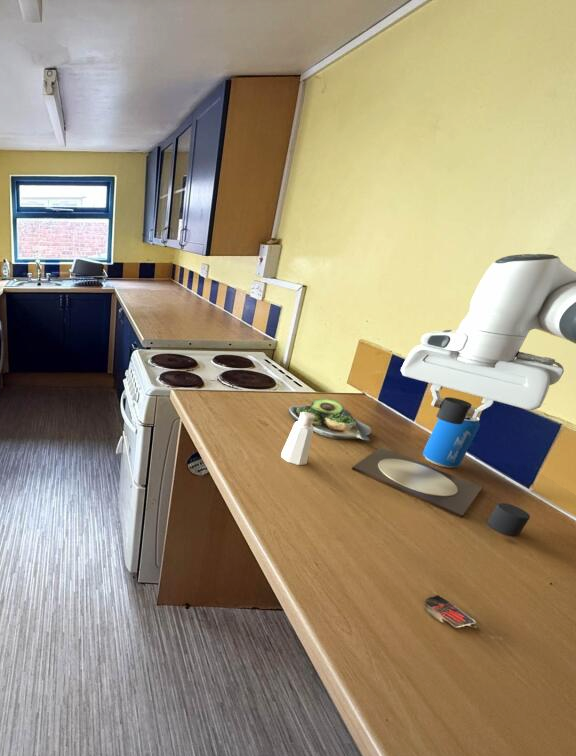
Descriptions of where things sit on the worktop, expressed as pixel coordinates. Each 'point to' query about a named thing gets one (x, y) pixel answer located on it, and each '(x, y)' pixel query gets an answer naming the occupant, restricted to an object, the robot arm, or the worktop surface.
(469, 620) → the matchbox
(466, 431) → the beverage can
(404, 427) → the worktop surface
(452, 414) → the dot left
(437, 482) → the board
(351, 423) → the salad plate
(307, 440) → the pepper shaker
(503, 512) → the dot right
